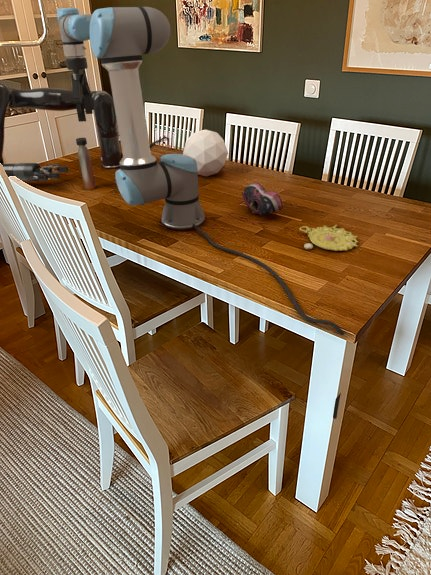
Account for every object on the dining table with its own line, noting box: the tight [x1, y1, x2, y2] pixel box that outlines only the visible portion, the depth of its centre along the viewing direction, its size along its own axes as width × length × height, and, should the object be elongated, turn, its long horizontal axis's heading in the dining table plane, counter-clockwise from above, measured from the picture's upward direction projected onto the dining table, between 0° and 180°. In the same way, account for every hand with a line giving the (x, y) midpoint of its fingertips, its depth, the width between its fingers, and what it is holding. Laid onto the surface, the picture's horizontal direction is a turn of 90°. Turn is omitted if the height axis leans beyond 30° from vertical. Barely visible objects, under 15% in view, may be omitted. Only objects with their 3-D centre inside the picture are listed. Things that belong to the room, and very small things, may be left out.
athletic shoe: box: [238, 182, 284, 217], centre depth 160 cm, size 11×22×12 cm
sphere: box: [182, 128, 229, 177], centre depth 194 cm, size 19×20×20 cm
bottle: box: [77, 144, 97, 191], centre depth 183 cm, size 5×5×20 cm
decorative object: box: [299, 224, 359, 252], centre depth 141 cm, size 21×2×20 cm
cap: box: [75, 137, 88, 147], centre depth 178 cm, size 4×4×2 cm
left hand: (63, 172), depth 187 cm, fingers open, 8 cm apart
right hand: (86, 117), depth 175 cm, fingers open, 13 cm apart
